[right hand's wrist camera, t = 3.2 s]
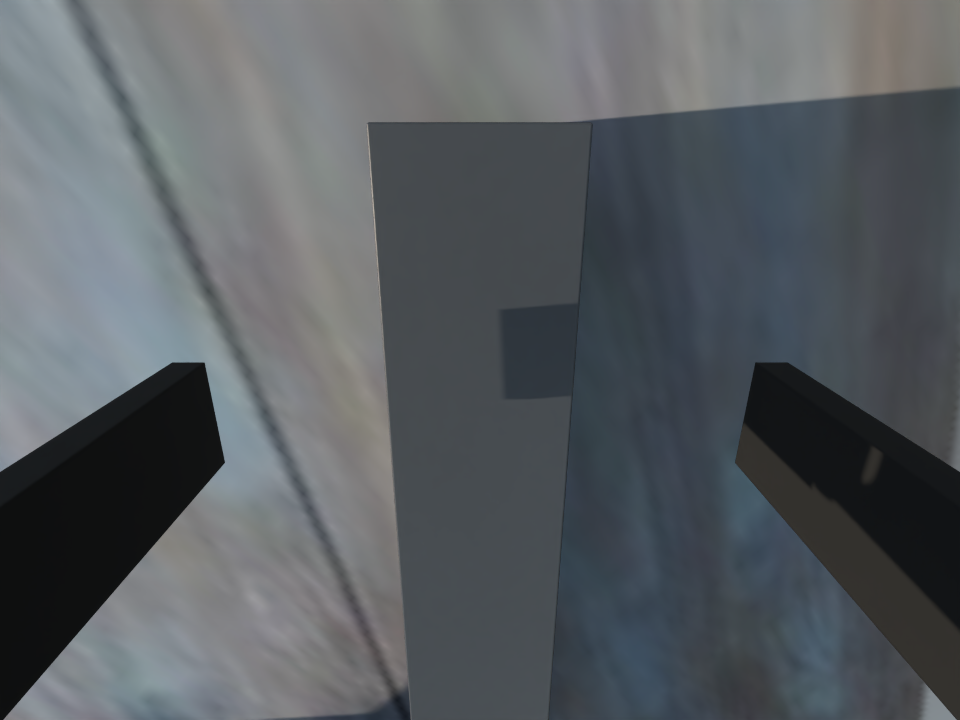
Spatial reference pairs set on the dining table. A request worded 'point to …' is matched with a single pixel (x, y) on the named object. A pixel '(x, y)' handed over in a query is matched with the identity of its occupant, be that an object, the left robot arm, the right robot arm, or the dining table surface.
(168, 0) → the dining table surface
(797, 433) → the right robot arm
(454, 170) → the bar
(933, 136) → the dining table surface
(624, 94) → the dining table surface
